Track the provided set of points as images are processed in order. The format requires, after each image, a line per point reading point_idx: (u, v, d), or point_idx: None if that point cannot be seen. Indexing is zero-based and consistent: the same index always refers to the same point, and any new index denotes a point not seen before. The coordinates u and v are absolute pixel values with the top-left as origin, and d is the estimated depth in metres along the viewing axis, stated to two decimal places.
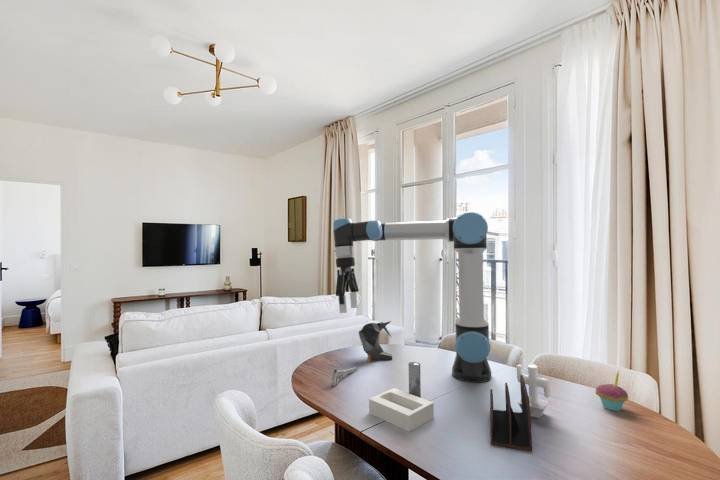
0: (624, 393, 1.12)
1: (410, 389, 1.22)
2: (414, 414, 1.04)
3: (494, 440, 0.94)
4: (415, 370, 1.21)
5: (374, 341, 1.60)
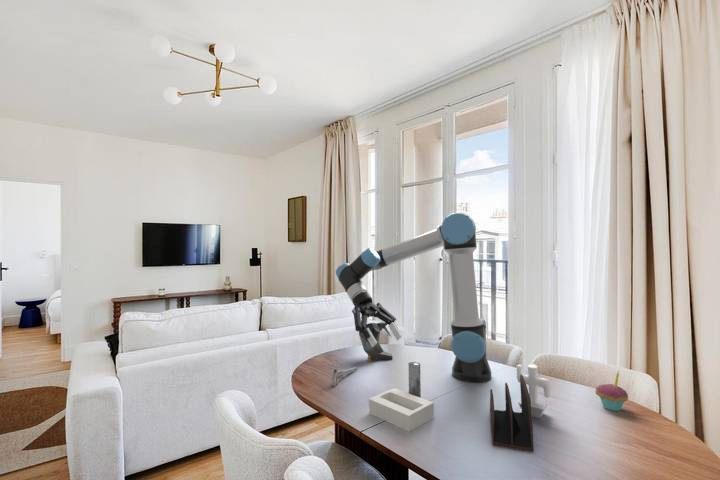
0: (624, 393, 1.12)
1: (410, 389, 1.22)
2: (414, 414, 1.04)
3: (495, 440, 0.94)
4: (415, 370, 1.21)
5: None
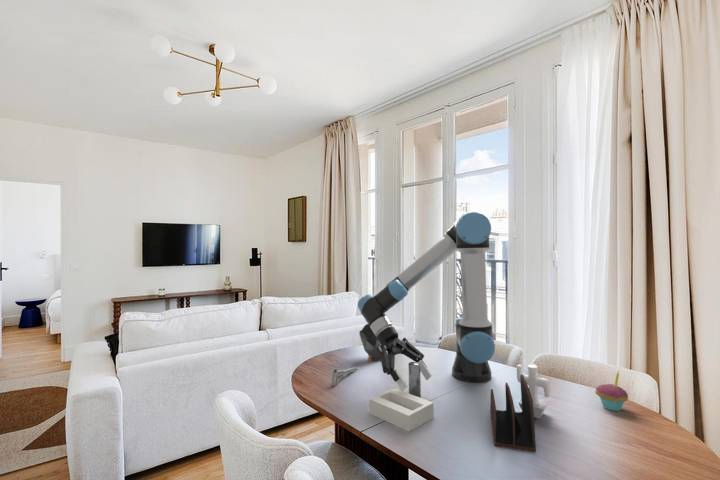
0: (624, 393, 1.12)
1: (410, 389, 1.22)
2: (414, 414, 1.04)
3: (497, 441, 0.94)
4: (415, 370, 1.21)
5: (375, 341, 1.61)
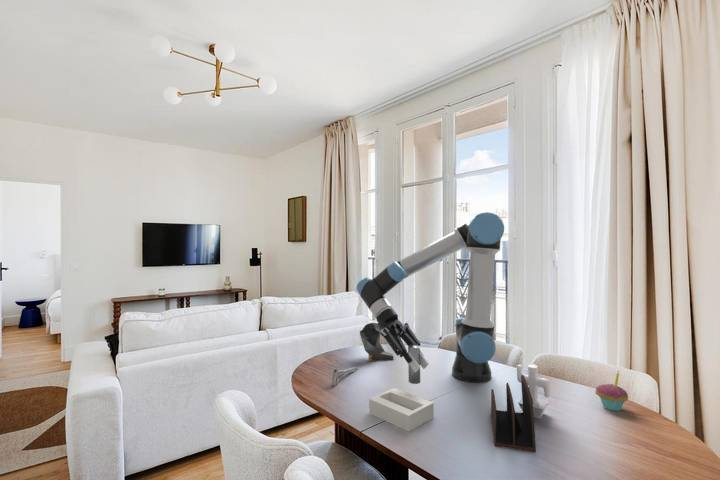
0: (624, 393, 1.12)
1: (410, 372, 1.22)
2: (414, 414, 1.04)
3: (497, 440, 0.94)
4: (415, 353, 1.21)
5: (375, 341, 1.61)
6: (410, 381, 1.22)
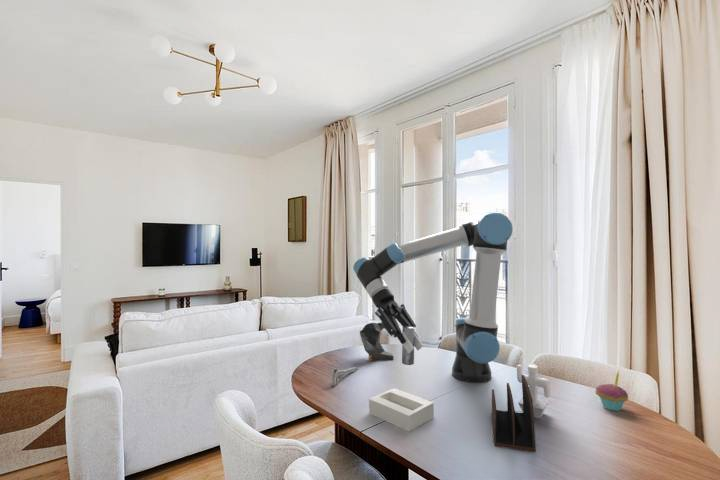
0: (624, 393, 1.12)
1: (403, 352, 1.19)
2: (414, 414, 1.04)
3: (497, 440, 0.94)
4: (409, 334, 1.19)
5: (375, 341, 1.61)
6: (403, 362, 1.19)
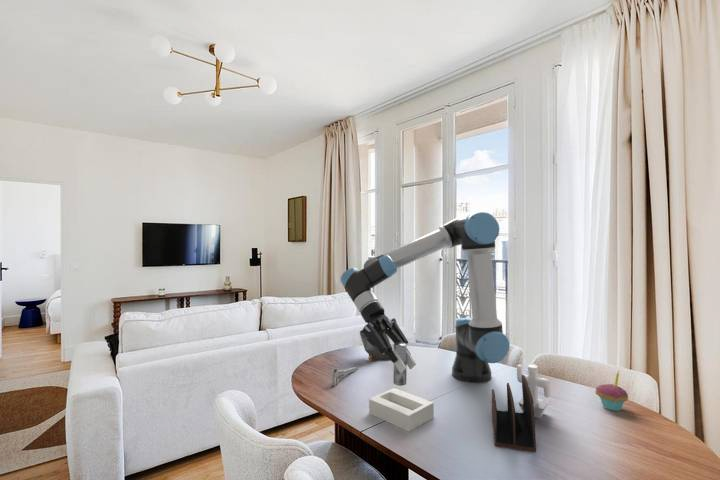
0: (624, 393, 1.12)
1: (395, 372, 1.10)
2: (414, 414, 1.04)
3: (498, 441, 0.94)
4: (401, 352, 1.09)
5: None
6: (395, 382, 1.10)
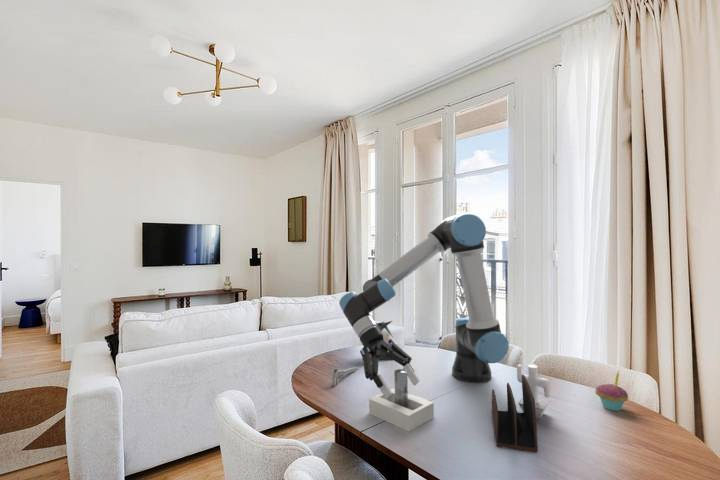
0: (624, 393, 1.12)
1: (396, 399, 1.10)
2: (414, 414, 1.04)
3: (499, 441, 0.94)
4: (401, 379, 1.09)
5: None
6: None
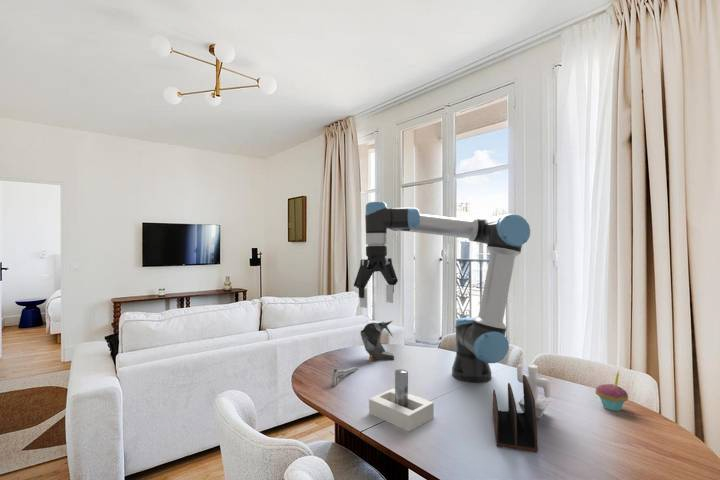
0: (624, 393, 1.12)
1: (396, 399, 1.10)
2: (414, 414, 1.04)
3: (499, 441, 0.94)
4: (402, 379, 1.09)
5: (376, 341, 1.61)
6: None
